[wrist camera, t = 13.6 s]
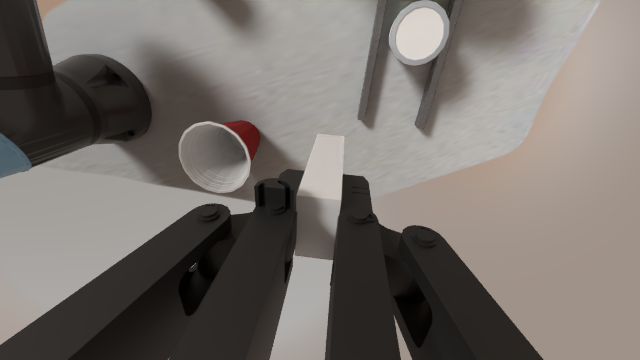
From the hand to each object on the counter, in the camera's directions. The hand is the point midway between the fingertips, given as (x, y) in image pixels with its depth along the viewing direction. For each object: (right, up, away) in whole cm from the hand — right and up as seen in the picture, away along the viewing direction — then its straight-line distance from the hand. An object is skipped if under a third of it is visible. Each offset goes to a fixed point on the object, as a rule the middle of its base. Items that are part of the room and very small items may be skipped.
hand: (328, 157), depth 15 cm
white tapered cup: (+12, +19, +22) cm, 32 cm away
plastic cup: (-14, +7, +32) cm, 36 cm away
